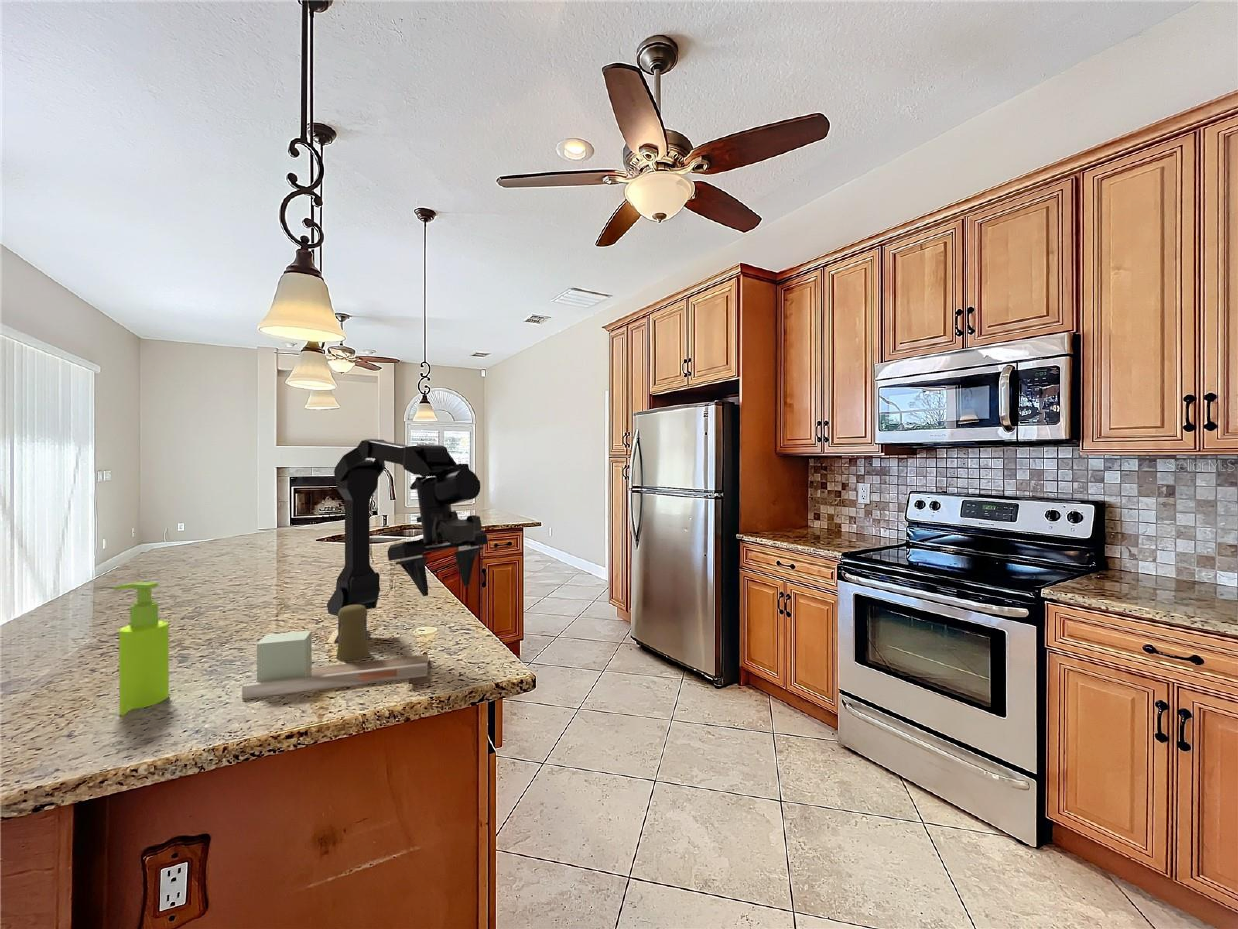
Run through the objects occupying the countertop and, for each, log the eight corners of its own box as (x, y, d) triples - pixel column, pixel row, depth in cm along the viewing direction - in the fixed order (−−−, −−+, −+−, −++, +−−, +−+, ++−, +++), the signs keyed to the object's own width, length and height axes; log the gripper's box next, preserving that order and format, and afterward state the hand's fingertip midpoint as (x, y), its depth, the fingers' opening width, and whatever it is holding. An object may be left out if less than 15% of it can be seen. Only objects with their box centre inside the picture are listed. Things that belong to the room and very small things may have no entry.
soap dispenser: (133, 700, 88) (132, 579, 88) (177, 699, 88) (177, 578, 88) (101, 717, 82) (101, 587, 82) (149, 716, 82) (149, 586, 82)
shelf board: (263, 679, 96) (262, 662, 96) (427, 661, 105) (427, 644, 105) (242, 706, 86) (242, 686, 86) (427, 682, 95) (427, 664, 95)
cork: (355, 668, 101) (355, 610, 101) (328, 666, 102) (327, 609, 102) (376, 657, 107) (376, 602, 107) (349, 655, 108) (349, 601, 108)
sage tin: (266, 680, 93) (265, 634, 93) (311, 675, 95) (311, 630, 95) (256, 692, 88) (256, 644, 88) (305, 686, 90) (305, 639, 90)
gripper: (417, 505, 90) (429, 598, 88) (500, 498, 105) (512, 578, 103) (380, 515, 96) (392, 602, 94) (464, 508, 111) (475, 583, 110)
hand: (446, 590), depth 100 cm, fingers open, 9 cm apart
